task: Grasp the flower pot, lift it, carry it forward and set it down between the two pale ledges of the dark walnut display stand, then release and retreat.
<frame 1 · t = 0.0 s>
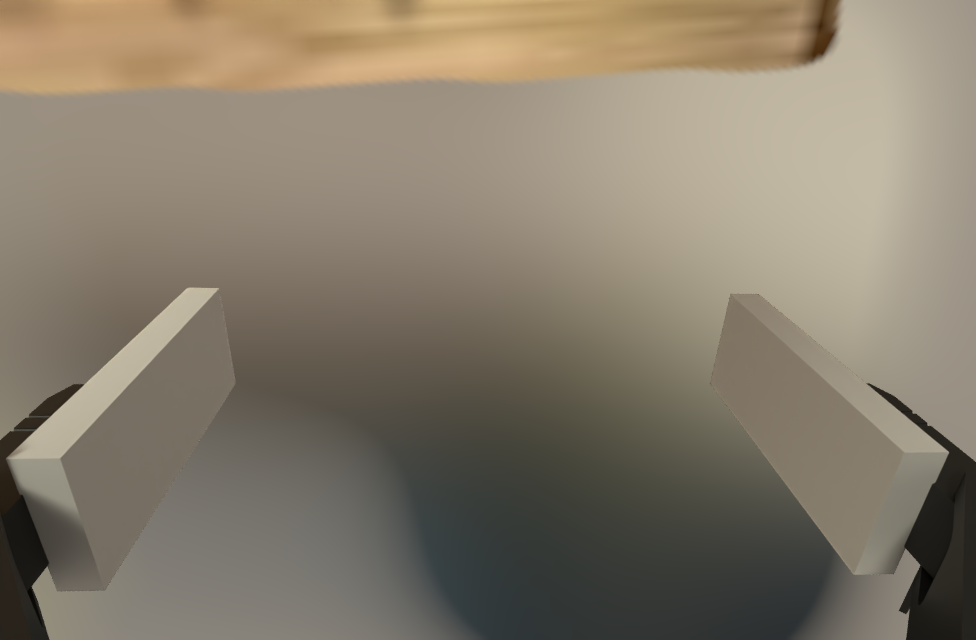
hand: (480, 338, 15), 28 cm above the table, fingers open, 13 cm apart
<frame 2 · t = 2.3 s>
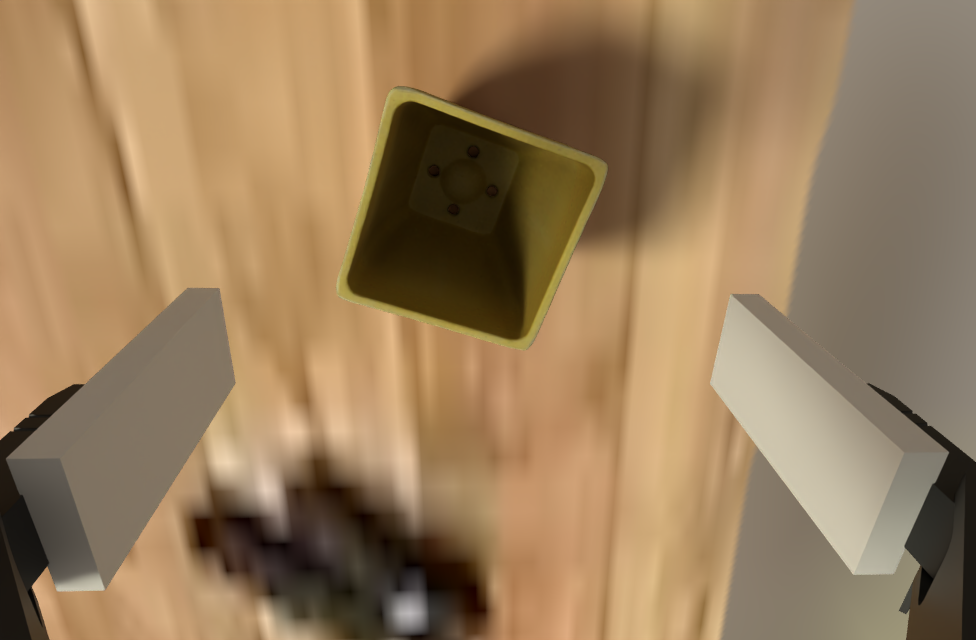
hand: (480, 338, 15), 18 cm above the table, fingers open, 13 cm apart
flower pot: (463, 181, 32), on the table
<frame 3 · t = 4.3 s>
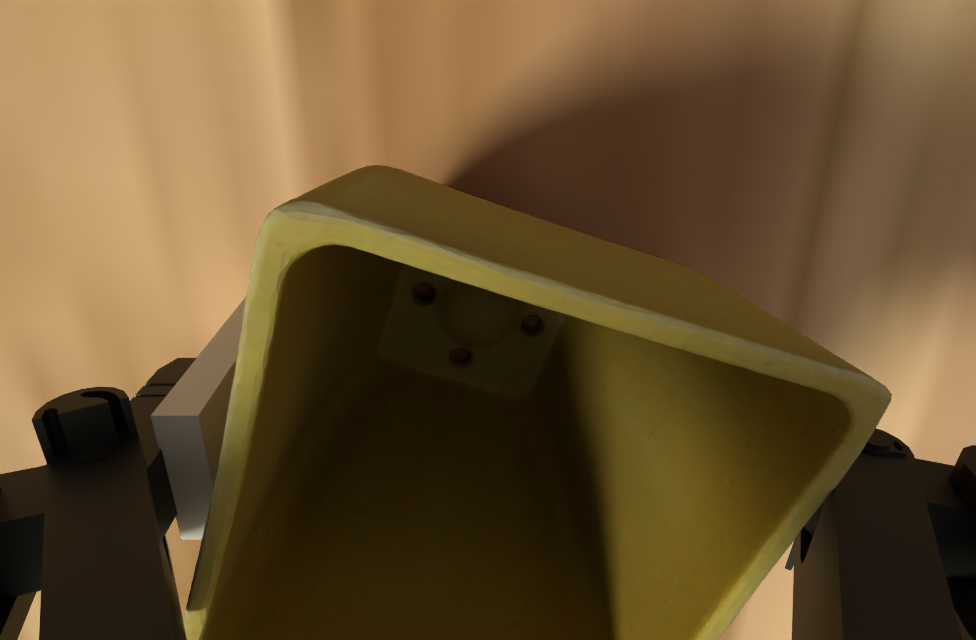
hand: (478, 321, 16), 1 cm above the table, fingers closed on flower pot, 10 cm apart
flower pot: (478, 306, 17), on the table, touching gripper
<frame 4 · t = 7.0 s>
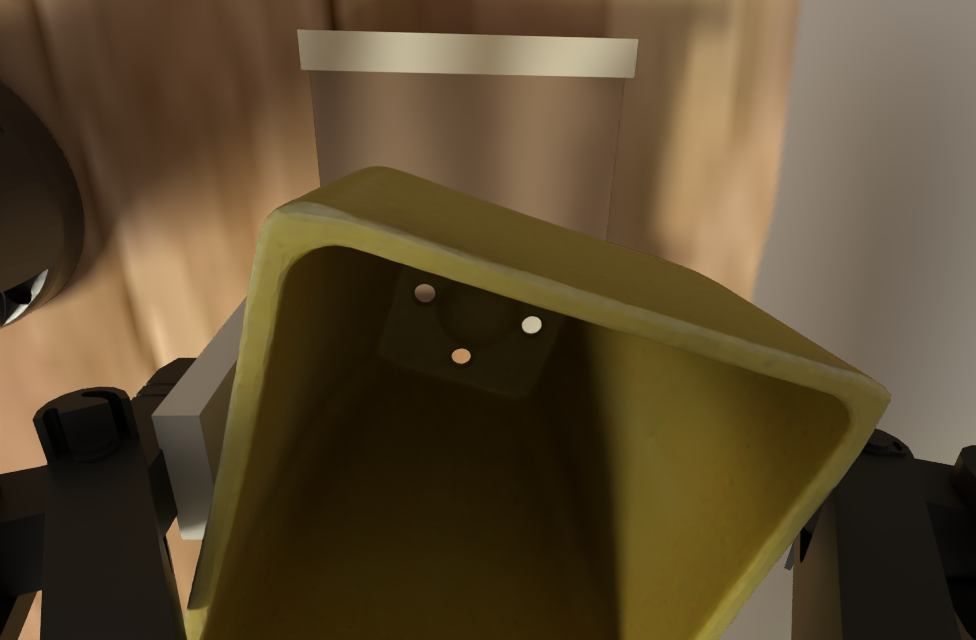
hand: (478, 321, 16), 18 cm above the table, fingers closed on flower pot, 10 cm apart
display stand: (466, 178, 32), on the table
flower pot: (478, 307, 17), point 17 cm above the table, touching gripper
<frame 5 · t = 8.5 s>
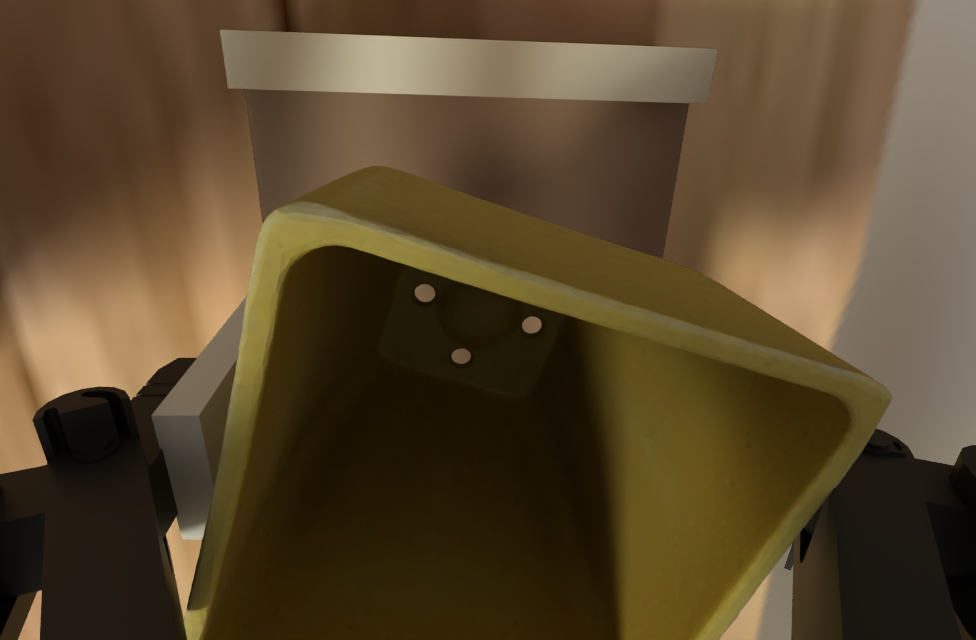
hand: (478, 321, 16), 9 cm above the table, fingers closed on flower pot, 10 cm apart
display stand: (466, 225, 25), on the table
flower pot: (478, 307, 17), point 8 cm above the table, touching gripper
when the fingers open (6 cm above the table, at t = 9.6 s): flower pot drops 1 cm, resting on display stand.
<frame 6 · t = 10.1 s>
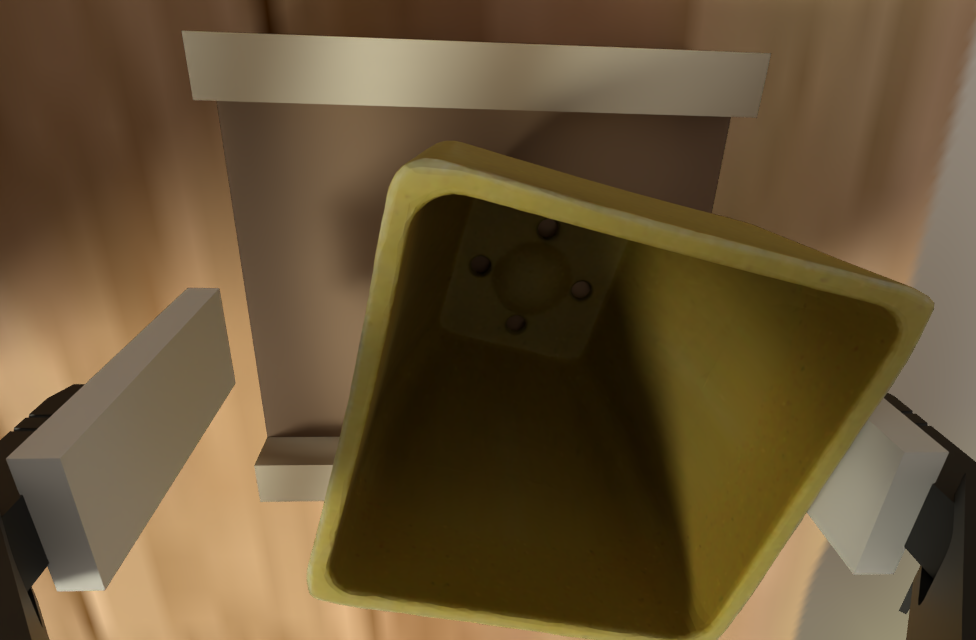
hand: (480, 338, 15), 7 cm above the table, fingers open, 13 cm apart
display stand: (471, 249, 22), on the table
flower pot: (529, 276, 18), point 4 cm above the table, touching display stand, gripper
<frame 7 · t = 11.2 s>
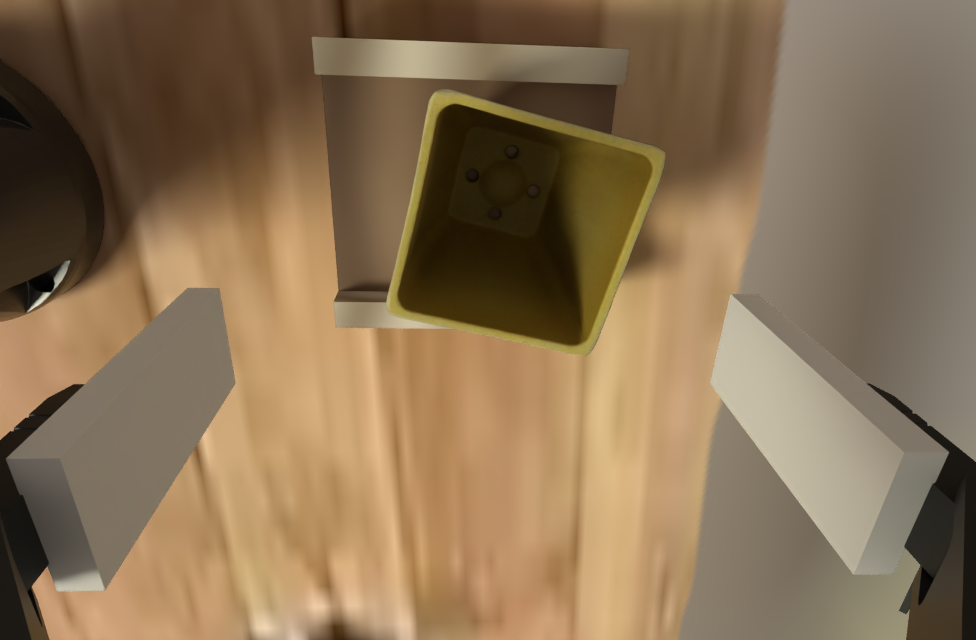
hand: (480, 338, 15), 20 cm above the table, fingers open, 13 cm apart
display stand: (467, 177, 34), on the table
flower pot: (502, 184, 30), point 4 cm above the table, touching display stand
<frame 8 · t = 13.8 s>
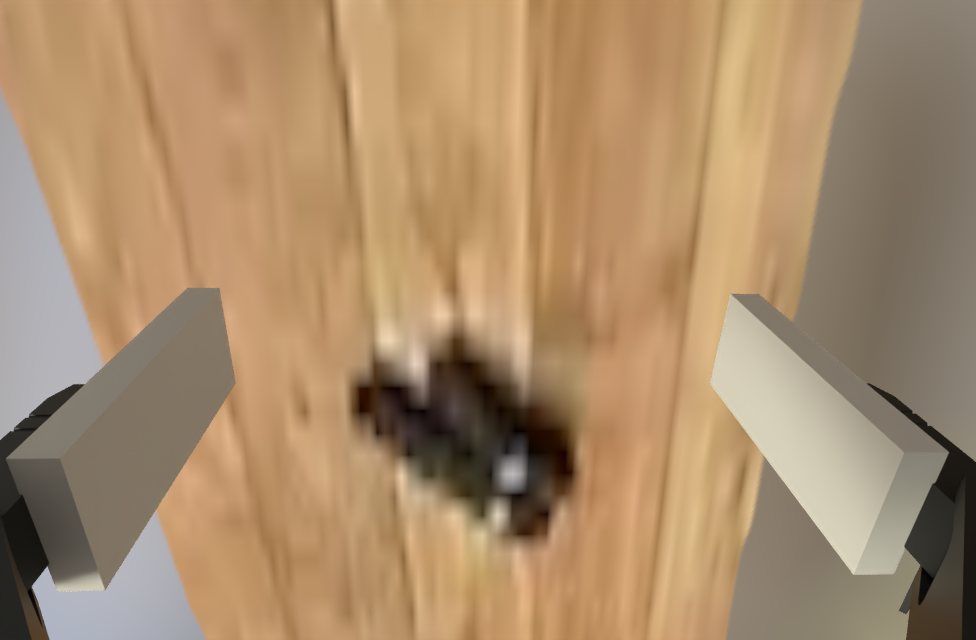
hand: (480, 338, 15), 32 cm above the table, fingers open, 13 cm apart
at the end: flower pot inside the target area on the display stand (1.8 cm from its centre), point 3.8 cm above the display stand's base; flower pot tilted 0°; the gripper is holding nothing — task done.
